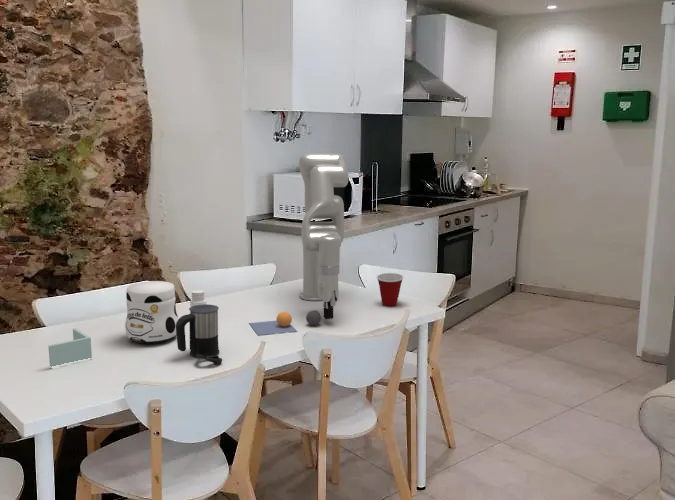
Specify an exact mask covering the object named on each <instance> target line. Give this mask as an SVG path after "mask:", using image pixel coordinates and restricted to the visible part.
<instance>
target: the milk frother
mask: <svg viewBox="0 0 675 500" xmlns="http://www.w3.org/2000/svg"><path fill="white" fill-rule="evenodd" d="M219 308H220V307H219V306H217V305H214V304H207V303H206V304H204V305H195V306H192V307H189V308H188V310H189V313H188V314H184V315H182V316H180V317H178V321H177V323H176V344H177V349H178V350H179V351H180V352H186V350H187V344H186V342H187V341H186V329H185V328H186V325H188V323H189V355H190V356H192V357H195V358H198V359H201V360H205V361H208V362H209V363H212V364H214V365H218V363H222V362H223V359H222V357H220V356H219V354H220V349H219V311H218V310H219Z"/></svg>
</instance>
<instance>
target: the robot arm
mask: <svg viewBox="0 0 675 500" xmlns="http://www.w3.org/2000/svg"><path fill="white" fill-rule="evenodd" d="M298 165H299V172H300V174H301V177H302V180H303V183H304V214H305V215H304V216H303V218H302V223H301V229H300V230H301V231H300V234H301V235H300V237H301V243H302V253H303V257H302V261H303V265H302V266H303V267H302V273H303V274H302V275H303V277H302V291H301V292H300V293H299V298H300V299H302V300H305V301H314V302H315V301H317V302H319V301H323V302H322V304H323V318H324V319H325V320H332V319H334V308H335V306H336V302H338V300H339V275H340V258H341V257H340V251H341V249H340V248H341V246H342V243H343V242H344V238H345V207H344V206H345V205H344V200H343V198H342V197H341V196H340V195H336V194H334V193H335V192H334V191H335V190H334V188H345V187H346V186H347V185H348V183H349V178H350V177H349V171H348V167H347V163H346V161H345V159H344V156H343V155H342V154H340V153H335V152H334V153H333V152H327V153H325V152H312V153H311V152H310V153H305V154H302V155H301V156H300V157H299V160H298ZM312 219H313V220H314V219H316V220H318V219H319V220H321V219H322V220H323V219H325V220H327V219H328V220H329V219H331V220H332V221H312Z"/></svg>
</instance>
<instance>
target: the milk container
mask: <svg viewBox="0 0 675 500" xmlns="http://www.w3.org/2000/svg"><path fill="white" fill-rule="evenodd" d="M126 287H127V288H126V294H125V295H126V297H125V298H126V310H127V312H126V313H127V314H126V318H125V322H124V328H125V329H124V330H125V335H126V337H127V338H128V339H129V340H130V341H132V342H134V343H139V344H159V343H163V342H167V341H169V340H171V339H173V338H174V337H177V335H176V323H177V321H178V319H179V317H178V316H179V315H178V313H177V309H176V307H177V306H176V289H175V288H176V287H175V284H174V283H172V282H169V281H161V280H151V281H149V280H147V281H139V282H136V283H135V282H134V283H132V284H129V285H128V286H126Z"/></svg>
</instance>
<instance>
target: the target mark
mask: <svg viewBox="0 0 675 500" xmlns="http://www.w3.org/2000/svg"><path fill="white" fill-rule="evenodd" d="M248 325H250V327H251V328H252V330H253V332H255V333H256V335H257V336H259V337H260V336H267V335H276V334H275V333H279V334H286V333H285V332H289V333H296V332H295V331H297V332H298V330H297V329H296V328H295V327H294V326H293V325H292V323H290V325H288V326H286V327H282V326H280V325H279V324H278V323H277V320H269V321H258V322H250V323H249V322H248Z"/></svg>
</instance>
